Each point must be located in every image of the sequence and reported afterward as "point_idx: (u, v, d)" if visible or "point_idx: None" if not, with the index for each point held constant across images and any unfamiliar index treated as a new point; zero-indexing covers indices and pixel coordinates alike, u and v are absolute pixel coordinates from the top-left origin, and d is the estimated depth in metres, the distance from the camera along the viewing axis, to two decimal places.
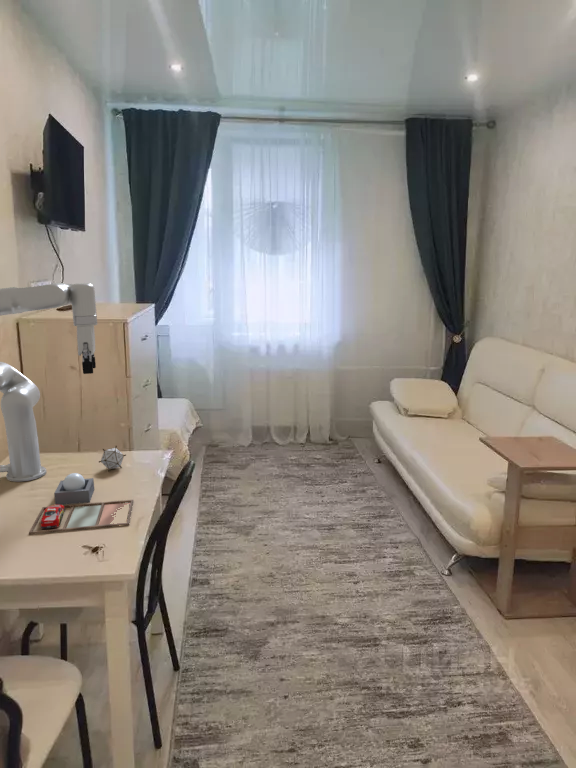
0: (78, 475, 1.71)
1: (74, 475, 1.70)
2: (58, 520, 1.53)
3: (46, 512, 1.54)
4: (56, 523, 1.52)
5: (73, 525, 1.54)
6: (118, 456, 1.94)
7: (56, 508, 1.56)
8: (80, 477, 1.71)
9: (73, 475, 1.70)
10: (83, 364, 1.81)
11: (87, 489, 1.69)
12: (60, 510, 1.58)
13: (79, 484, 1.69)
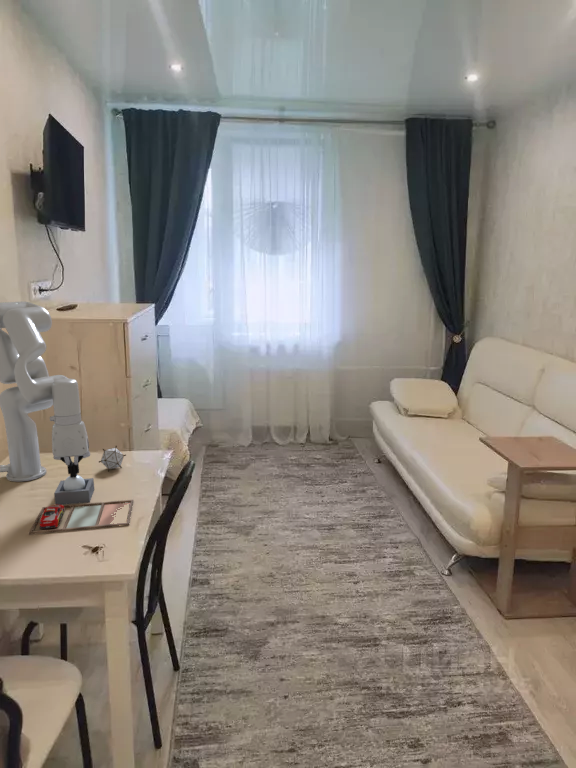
0: (78, 477, 1.71)
1: (74, 477, 1.70)
2: (57, 520, 1.53)
3: (45, 512, 1.54)
4: (55, 523, 1.52)
5: (73, 525, 1.54)
6: (118, 456, 1.94)
7: (55, 508, 1.56)
8: (80, 479, 1.71)
9: (73, 477, 1.70)
10: (75, 467, 1.69)
11: (87, 489, 1.69)
12: (59, 510, 1.58)
13: (79, 486, 1.69)
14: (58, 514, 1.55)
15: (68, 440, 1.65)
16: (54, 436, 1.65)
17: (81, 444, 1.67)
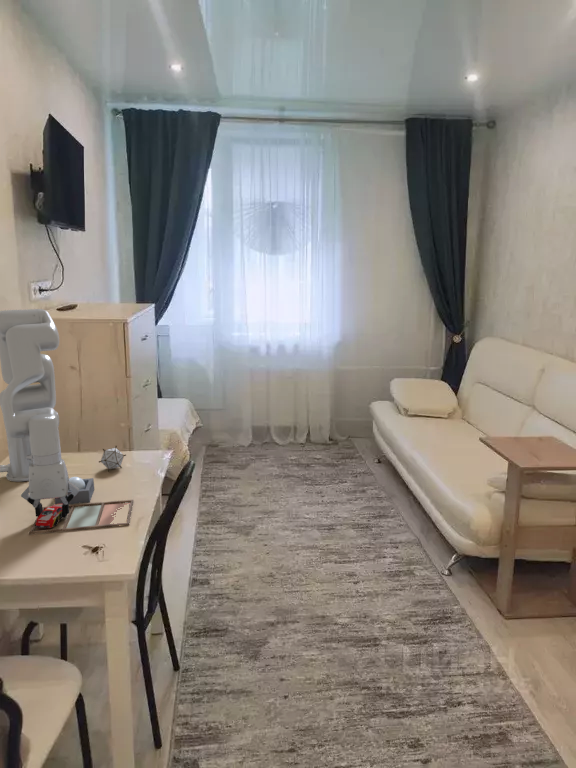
0: (78, 479, 1.71)
1: (74, 479, 1.70)
2: (52, 521, 1.52)
3: (44, 511, 1.54)
4: (49, 524, 1.51)
5: (73, 525, 1.54)
6: (118, 456, 1.94)
7: (55, 508, 1.56)
8: (80, 481, 1.71)
9: (73, 479, 1.70)
10: (64, 507, 1.56)
11: (87, 489, 1.69)
12: (60, 510, 1.57)
13: (79, 488, 1.70)
14: (56, 514, 1.55)
15: (46, 481, 1.52)
16: (31, 477, 1.51)
17: (61, 485, 1.53)
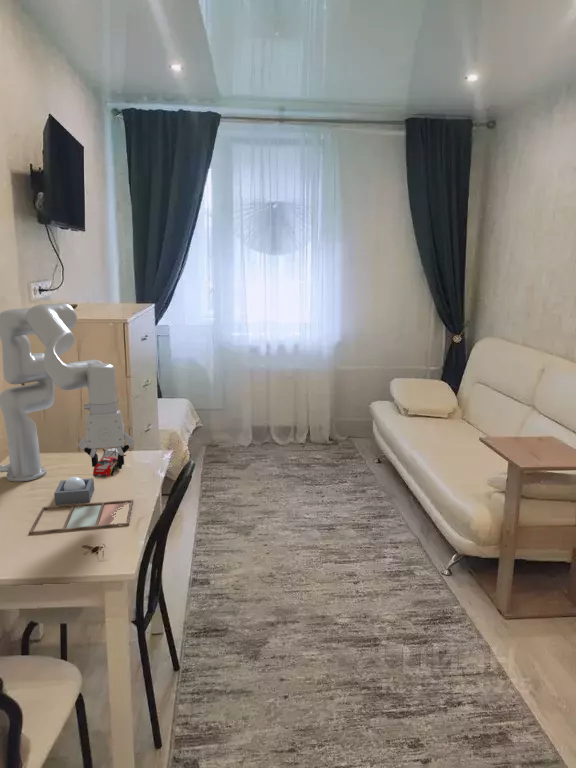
0: (78, 479, 1.71)
1: (74, 479, 1.70)
2: (109, 470, 1.52)
3: (100, 461, 1.54)
4: (107, 472, 1.51)
5: (73, 525, 1.54)
6: None
7: (111, 458, 1.56)
8: (80, 481, 1.71)
9: (73, 479, 1.70)
10: (120, 458, 1.56)
11: (87, 489, 1.69)
12: (115, 461, 1.57)
13: (79, 488, 1.70)
14: (112, 464, 1.55)
15: (104, 430, 1.52)
16: (89, 426, 1.51)
17: (117, 435, 1.53)
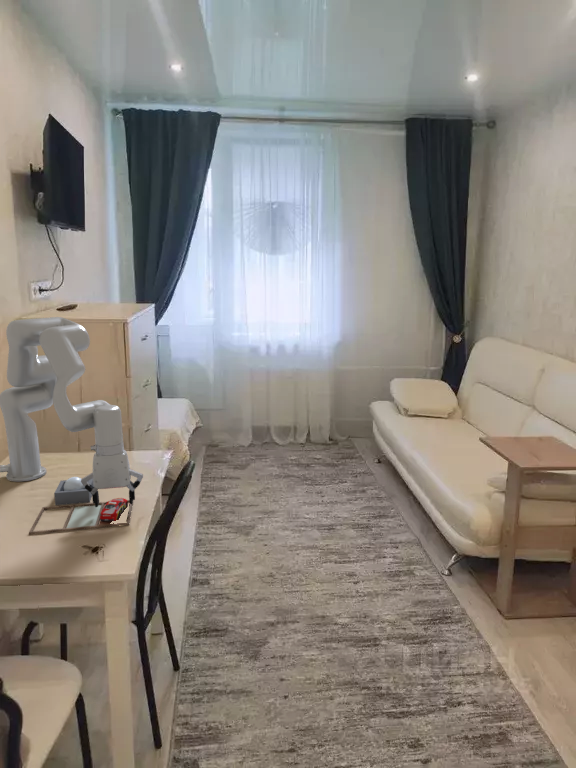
0: (78, 479, 1.71)
1: (74, 479, 1.70)
2: (116, 514, 1.55)
3: (107, 505, 1.57)
4: (113, 517, 1.54)
5: (73, 525, 1.54)
6: None
7: (117, 502, 1.59)
8: (80, 481, 1.71)
9: (73, 479, 1.70)
10: (131, 493, 1.59)
11: None
12: (121, 504, 1.60)
13: (79, 488, 1.70)
14: (118, 508, 1.58)
15: (110, 471, 1.55)
16: (95, 467, 1.54)
17: (124, 475, 1.56)
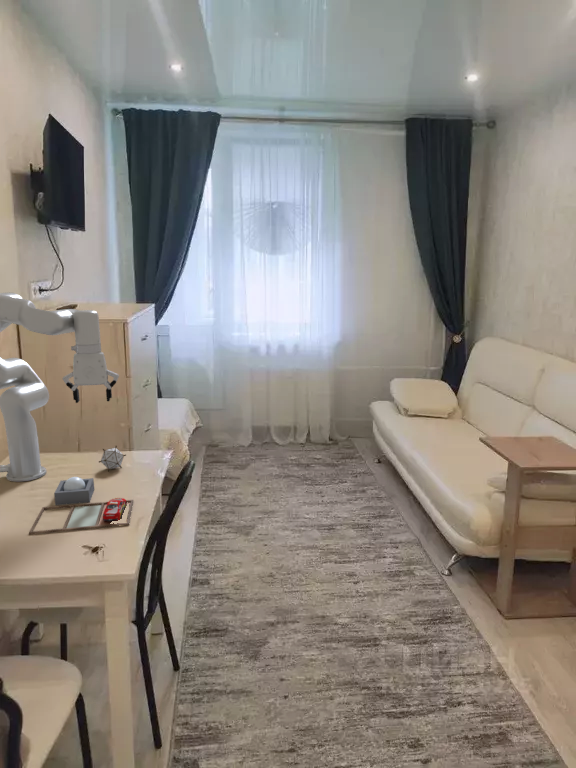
0: (78, 479, 1.71)
1: (74, 479, 1.70)
2: (119, 514, 1.56)
3: (108, 505, 1.57)
4: (117, 516, 1.55)
5: (73, 525, 1.54)
6: (118, 456, 1.94)
7: (118, 501, 1.60)
8: (80, 481, 1.71)
9: (73, 479, 1.70)
10: (108, 391, 1.77)
11: (87, 489, 1.69)
12: (122, 504, 1.61)
13: (79, 488, 1.70)
14: (120, 507, 1.58)
15: (89, 369, 1.73)
16: (75, 364, 1.72)
17: (101, 373, 1.74)
